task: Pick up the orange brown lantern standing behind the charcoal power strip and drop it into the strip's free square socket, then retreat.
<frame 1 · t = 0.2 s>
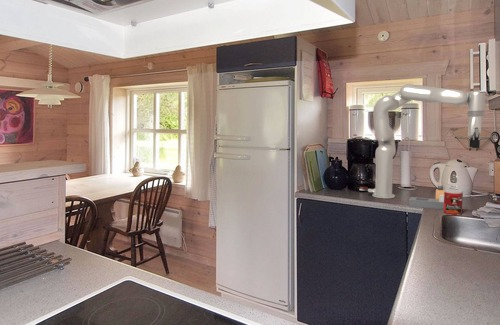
hand: (474, 147, 180), 31 cm above the countertop, tool pointing down, fingers open, 9 cm apart
power strip: (430, 206, 179), on the countertop
canned food: (452, 213, 165), on the countertop
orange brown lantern: (439, 204, 184), on the countertop
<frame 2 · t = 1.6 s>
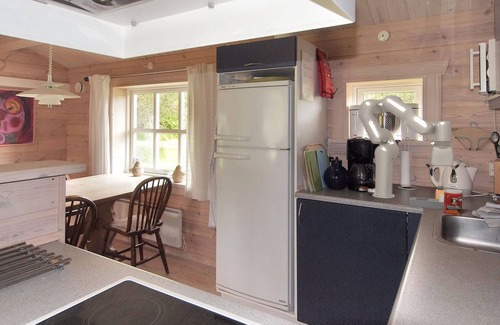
hand: (442, 176, 182), 15 cm above the countertop, tool pointing down, fingers open, 9 cm apart
nothing on the countertop moved.
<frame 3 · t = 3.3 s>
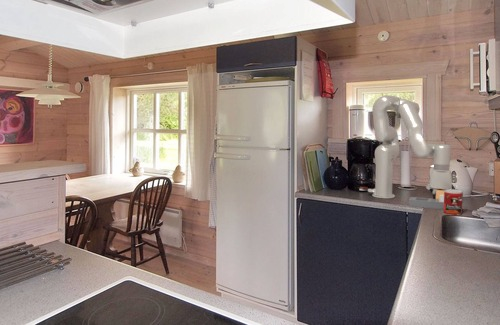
hand: (439, 201, 183), 2 cm above the countertop, tool pointing down, fingers closed on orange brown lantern, 3 cm apart
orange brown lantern: (439, 204, 183), on the countertop, touching gripper
everything else where it was.
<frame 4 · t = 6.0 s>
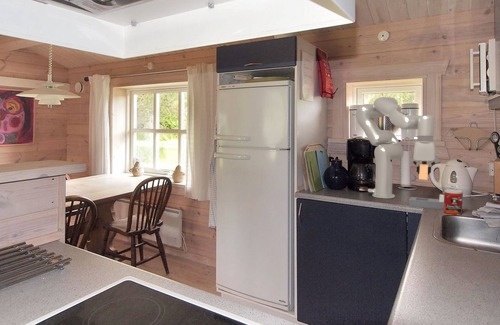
hand: (423, 173, 179), 17 cm above the countertop, tool pointing down, fingers closed on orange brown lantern, 4 cm apart
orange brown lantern: (423, 179, 180), point 14 cm above the countertop, tilted 12°, touching gripper
everything else where it was.
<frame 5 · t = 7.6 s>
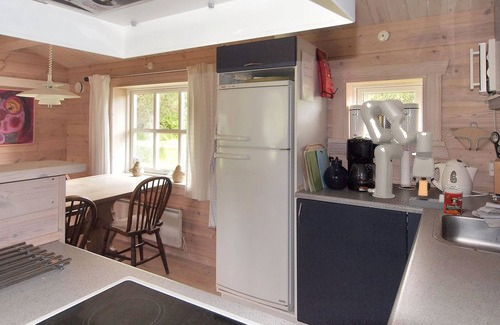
hand: (423, 189, 180), 9 cm above the countertop, tool pointing down, fingers closed on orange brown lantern, 4 cm apart
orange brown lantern: (423, 195, 180), point 6 cm above the countertop, tilted 13°, touching gripper
everything else where it was.
when the fingers open (5 cm above the countertop, at t = 8.7 s): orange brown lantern drops 2 cm, resting in power strip.
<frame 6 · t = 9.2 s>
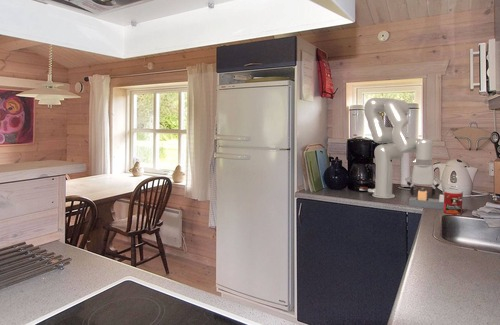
hand: (422, 195, 180), 6 cm above the countertop, tool pointing down, fingers open, 9 cm apart
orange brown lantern: (422, 205, 181), resting in power strip
everything else where it was.
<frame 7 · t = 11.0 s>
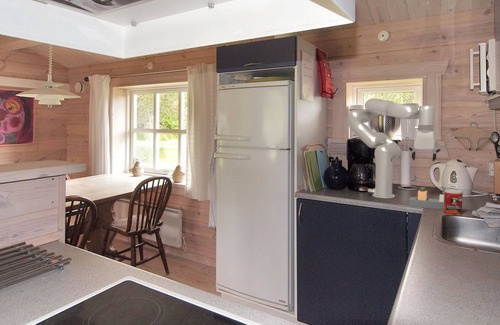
hand: (423, 160, 185), 24 cm above the countertop, tool pointing down, fingers open, 9 cm apart
nothing on the countertop moved.
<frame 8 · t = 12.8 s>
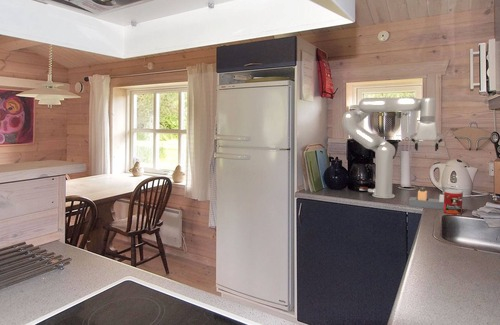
hand: (426, 150, 192), 28 cm above the countertop, tool pointing down, fingers open, 9 cm apart
nothing on the countertop moved.
at the end: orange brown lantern 0.2 cm from the target spot on the power strip, point 0.0 cm above the power strip's base; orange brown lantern tilted 0°; the gripper is holding nothing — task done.
